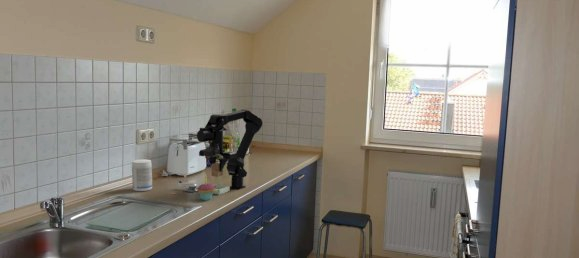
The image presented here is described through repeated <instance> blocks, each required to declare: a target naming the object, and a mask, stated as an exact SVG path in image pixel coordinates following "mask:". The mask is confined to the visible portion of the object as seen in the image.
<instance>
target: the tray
mask: <svg viewBox="0 0 579 258" xmlns="http://www.w3.org/2000/svg"><path fill="white" fill-rule="evenodd" d="M212 185H213V186H214V187H215V192H213V194H212V195H216V194H217V196H220V194H221V195H223V194H225V192H226V193H228V191H229V192H230V191H231V188H230V186H231V185H230V186H229V185H221V184H212Z"/></svg>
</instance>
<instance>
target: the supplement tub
mask: <svg viewBox="0 0 579 258" xmlns="http://www.w3.org/2000/svg"><path fill="white" fill-rule="evenodd" d="M152 166H153V165H152V160H151V159H145V158H144V159H143V158H142V159H133V160H132V161H131V178H132V179H131V180H132V190H133V191H134V192H147V191H151V190H152V189H153V167H152Z"/></svg>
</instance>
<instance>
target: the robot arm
mask: <svg viewBox="0 0 579 258" xmlns="http://www.w3.org/2000/svg"><path fill="white" fill-rule="evenodd" d="M241 119H242V120H243V122H244V123H245V125H244V128H245V131H244V133H243V136H242V138H241V140H240V143H239V146H238V147H237V150H236V152H234V151H226V150H225V149H224V145H225V144H226V143H225V141H224V131H227V128H226V127H225V126H226V125H227V124H228V123H230V122H235V121H238V120H241ZM262 127H263V120H262V118H261V117H258V116H257V115H256V114H254V113H252V112H251V111H250V110H248V109H240V110H237V111H232V112H230V113H226V114H223V113H222V114H214V113H213V114H211V115H210V117H209V119H208V120H207V123H206V124H205V126H204V127H200V128H199V130H198V131H197V134H196V138H197V140H198V142H199V143H205V142H209V146H207V147H206V148H204V149H200V150H199V152H198V156H199V157H204V158H205V159H207V160H208V162H209V164H210V165H211V164H213V163H217V160H218V162H219V163H220V172H222V170H223V171H224V168H225V165H226V171H227V174H228V176H231V183H230V189H237V190H240V189H244V188H246V187H247V186H246V185H244V178H245V177H247V174H248V172H247V170H245V169H244V167H245V157H246V155H247V153H248V150H249V147H250V146H251V144H252V141H253V138H254V136H255V135H256V134H257V133H258V132H259V131H260V130H261V129H262ZM217 157H220V158H218V159H217Z"/></svg>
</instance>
